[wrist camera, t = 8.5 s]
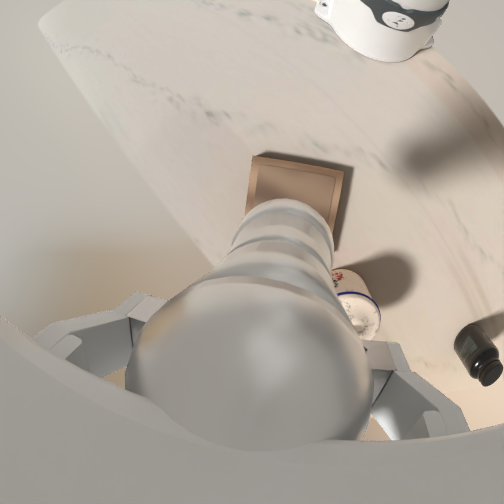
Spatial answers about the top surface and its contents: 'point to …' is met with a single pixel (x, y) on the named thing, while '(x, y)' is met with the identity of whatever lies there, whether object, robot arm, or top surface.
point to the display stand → (295, 185)
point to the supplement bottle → (478, 354)
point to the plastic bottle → (260, 342)
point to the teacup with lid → (357, 303)
